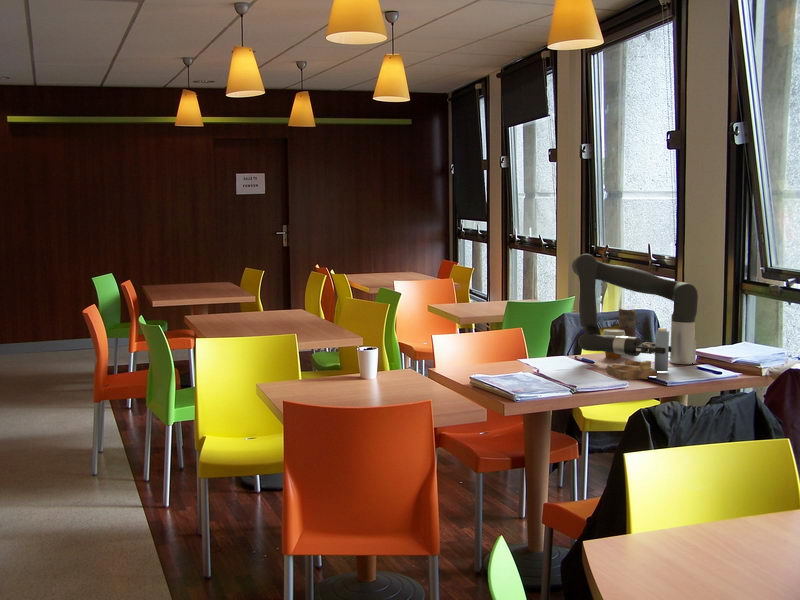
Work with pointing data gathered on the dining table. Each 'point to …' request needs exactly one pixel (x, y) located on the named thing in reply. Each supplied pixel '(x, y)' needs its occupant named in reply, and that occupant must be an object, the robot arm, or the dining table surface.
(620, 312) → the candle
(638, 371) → the display stand
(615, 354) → the disposable coffee cup
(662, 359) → the flask
